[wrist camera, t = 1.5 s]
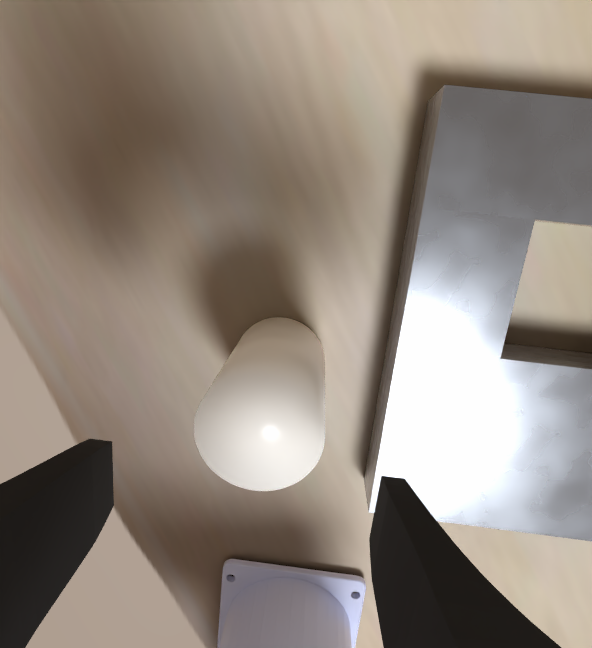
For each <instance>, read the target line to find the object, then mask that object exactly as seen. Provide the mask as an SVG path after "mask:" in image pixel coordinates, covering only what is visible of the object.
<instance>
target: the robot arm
mask: <svg viewBox="0 0 592 648" xmlns="http://www.w3.org/2000/svg"><path fill="white" fill-rule="evenodd" d="M113 506H114V499H113V462H112V442H111V441H103V440H95V439H88V440H86V441H84V442H82V443H79V444H77V445H75V446H73V447H71V448H70V449H68V450H66V451H64V452H62V453H60V454H58V455H56V456H54V457H52V458H51V459H49V460H47V461H45V462H43V463H41V464H39V465H37V466H35V467H33V468H31V469H29V470H27V471H26V472H24V473H22V474H20V475H18V476H16V477H14V478H12V479H10V480H8V481H6V482H4V483H2V484H0V648H25V647H26V645H27V644H28V642H29V640H30V639H31V637H32V635H33V634H34V632H35V631H36V629H37V628H38V626H39V625H40V623H41V622H42V620H43V619H44V617H45V616H46V614H47V613H48V611H49V610H50V608H51V607H52V605H53V604H54V603H55V601H56V600H57V598H58V597H59V595H60V594H61V592H62V591H63V589H64V588H65V586H66V585H67V583H68V582H69V580H70V579H71V577H72V576H73V575H74V573H75V572H76V570H77V569H78V567H79V565H80V564H81V563H82V561H83V560H84V558H85V556H86V555H87V554H88V552H89V551H90V549H91V547H92V546H93V544H94V543H95V541H96V539H97V537H98V536H99V534H100V532H101V530H102V528H103V526H104V524H105V522H106V520H107V518H108V516H109V514H110V512H111V510H112V508H113ZM369 540H370V558H371V573H372V582H373V589H374V594H375V600H376V606H377V612H378V618H379V623H380V629H381V635H382V640H383V646H384V648H561V647H560V646H559V645H557V644H556V643H555V642H554V641H553V640H552V639H550V638H549V637H548V636H547V635H546V634H545V633H543V632H542V631H541V630H540V629H539V628H538V627H536V626H535V625H534V624H533V623H532V622H531V621H530V620H529V619H527V618H526V617H525V616H524V615H523V614H522V613H521V612H520V611H519V610H518V609H517V608H515V607H514V606H513V605H512V604H511V603H510V602H509V601H508V600H507V599H506V598H505V597H504V596H503V595H502V594H501V593H500V592H499V591H498V590H497V589H496V588H495V587H494V586H493V585H492V584H491V583H490V582H489V581H488V580H487V579H486V578H485V577H484V576H483V575H482V574H481V573H480V572H479V570H478V569H477V568H476V567H475V566H474V565H473V564H472V563H471V562H470V560H469V559H468V558H467V557H466V556H465V555H464V554H463V553H462V552H461V550H460V549H459V548H458V547H457V546H456V544H455V543H454V542H453V541H452V540H451V538H450V537H449V536H448V535H447V533H446V532H445V531H444V530H443V529H442V527H441V526H440V525H439V523H438V522H437V521H436V520H435V518H434V517H433V516H432V514H431V513H430V512H429V510H428V509H427V508H426V506H425V505H424V504H423V502H422V501H421V500H420V498H419V497H418V496H417V494H416V493H415V492H414V490H413V489H412V488H411V486H410V485H409V484H408V482H407V481H406V480H405V479H404V478H396V477H388V476H381V480H380V485H379V491H378V496H377V501H376V507H375V512H374V517H373V523H372V528H371V533H370V539H369ZM230 574H231V575H234V576H230ZM365 591H366V584H365V580H364V579H363V578H362V577H360V576H356V575H348V574H341V573H334V572H326V571H319V570H312V569H304V568H297V567H289V566H282V565H275V564H267V563H260V562H253V561H245V560H238V559H228V560H226V561H225V563H224V566H223V572H222V587H221V601H220V616H219V630H218V645H217V648H355V644H356V639H357V634H358V628H359V623H360V617H361V612H362V607H363V601H364V596H365ZM353 592H357V593H353Z"/></svg>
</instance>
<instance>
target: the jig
mask: <svg viewBox="0 0 592 648" xmlns="http://www.w3.org/2000/svg"><path fill="white" fill-rule="evenodd" d="M534 221H544V222H553V223H563V224H572V225H582V226H591V227H592V99H588V98H578V97H567V96H557V95H546V94H536V93H526V92H515V91H505V90H494V89H484V88H473V87H463V86H453V85H444V86H443V87H442V88H441V89H440V90H439V91H438V92H437V93H436V94H435V95H434V96H433V97H432V98H431V99H430V100H429V101H428V104H427V110H426V116H425V122H424V128H423V134H422V140H421V146H420V151H419V157H418V163H417V169H416V175H415V181H414V187H413V193H412V199H411V205H410V210H409V216H408V222H407V228H406V234H405V240H404V246H403V252H402V258H401V264H400V270H399V275H398V281H397V287H396V293H395V299H394V305H393V311H392V317H391V323H390V329H389V334H388V340H387V346H386V352H385V358H384V364H383V370H382V376H381V382H380V388H379V393H378V399H377V405H376V411H375V417H374V423H373V429H372V435H371V441H370V447H369V453H368V458H367V464H366V470H365V476H364V483H365V490H366V497H367V503H368V510H369V512H371V513H374V512H375V507H376V501H377V496H378V491H379V485H380V480H381V476H388V477H396V478H404V479H405V480H406V481H407V482H408V484H409V485H410V486H411V488H412V489H413V490H414V492H415V493H416V494H417V496H418V497H419V498H420V500H421V501H422V502H423V504H424V505H425V506H426V508H427V509H428V510H429V512H430V513H431V514H432V516H433V517H434V518H435V520H436V521H440V522H448V523H456V524H463V525H471V526H479V527H486V528H494V529H502V530H509V531H517V532H525V533H532V534H540V535H548V536H555V537H563V538H571V539H578V540H586V541H592V353H584V352H576V351H567V350H559V349H550V348H541V347H533V346H524V345H515V344H507V343H504V342H505V338H506V333H507V329H508V325H509V321H510V317H511V313H512V309H513V305H514V301H515V297H516V293H517V289H518V285H519V281H520V277H521V273H522V269H523V265H524V261H525V257H526V253H527V249H528V245H529V241H530V237H531V233H532V229H533V225H534Z"/></svg>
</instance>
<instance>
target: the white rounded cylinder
mask: <svg viewBox="0 0 592 648" xmlns="http://www.w3.org/2000/svg"><path fill="white" fill-rule="evenodd" d="M194 437H195V442H196V445H197V448H198V451H199V453H200V455H201V457H202V458H203V460H204V461H205V463H206V464H207V465H208V466H209V468H210V469H211V470H212V471H213V472H214V473H216V474H217V475H218V476H219V477H221V478H222V479H224V480H225V481H227V482H229V483H231V484H233V485H235V486H238V487H241V488H244V489H248V490H254V491H272V490H279V489H282V488H286V487H288V486H291V485H293V484H295V483H297V482H298V481H300V480H302V479H303V478H304V477H305V476H307V475H308V474H309V473H310V472H311V471H312V470H313V468H314V467H315V466H316V464H317V463H318V461H319V459H320V457H321V454H322V452H323V448H324V444H325V356H324V351H323V348H322V345H321V343H320V341H319V339H318V338H317V336H316V335H315V334H314V333H313V331H312V330H311V329H309V328H308V327H307V326H305V325H304V324H302V323H300V322H298V321H296V320H293V319H290V318H284V317H274V318H268V319H264V320H261V321H259V322H257V323H255V324H254V325H252V326H251V327H250V328H249V329H248V330H247V331H246V332H245V333H244V334H243V335H242V337H241V339H240V340H239V342H238V343H237V345H236V347H235V348H234V350H233V351H232V353H231V355H230V356H229V358H228V359H227V361H226V363H225V364H224V366H223V367H222V369H221V371H220V372H219V374H218V375H217V377H216V379H215V380H214V382H213V383H212V385H211V386H210V388H209V390H208V391H207V393H206V394H205V396H204V398H203V399H202V401H201V402H200V404H199V406H198V409H197V411H196V415H195V419H194Z"/></svg>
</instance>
